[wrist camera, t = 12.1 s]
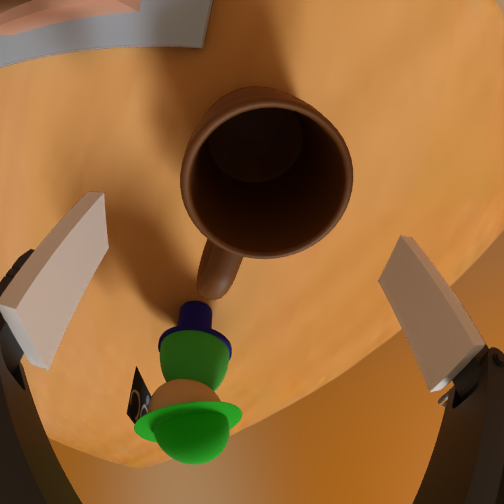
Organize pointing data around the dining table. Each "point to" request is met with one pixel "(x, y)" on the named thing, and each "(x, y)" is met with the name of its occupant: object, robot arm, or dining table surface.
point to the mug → (262, 181)
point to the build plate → (99, 26)
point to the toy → (187, 391)
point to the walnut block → (10, 4)
